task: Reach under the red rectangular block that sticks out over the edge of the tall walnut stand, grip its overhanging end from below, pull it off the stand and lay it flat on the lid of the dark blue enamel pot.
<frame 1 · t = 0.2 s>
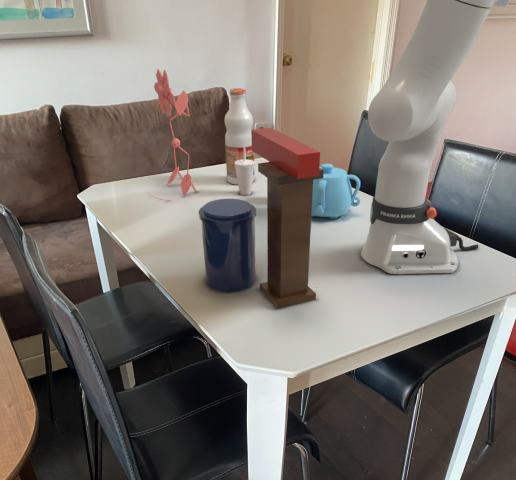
stand: (287, 294, 108), on the table
pot: (231, 279, 114), on the table
onion: (313, 188, 164), on the table
red rectangular block: (282, 162, 94), point 27 cm above the table, touching stand
decorative pot: (324, 212, 146), on the table
smoothie: (245, 193, 161), on the table
figurine: (171, 192, 163), on the table
fruit juice: (240, 181, 171), on the table
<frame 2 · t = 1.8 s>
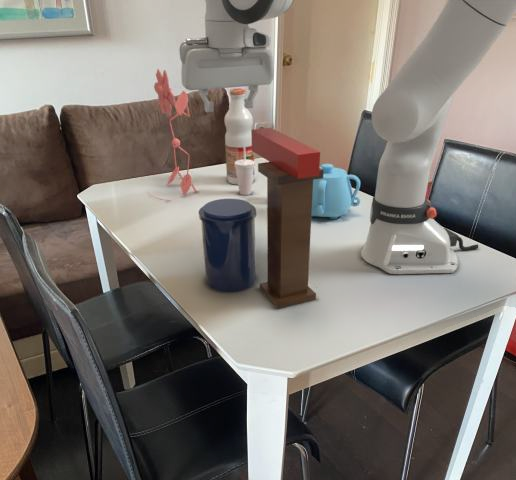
hand: (229, 109, 112), 32 cm above the table, tool pointing down, fingers open, 8 cm apart
nothing on the table moved.
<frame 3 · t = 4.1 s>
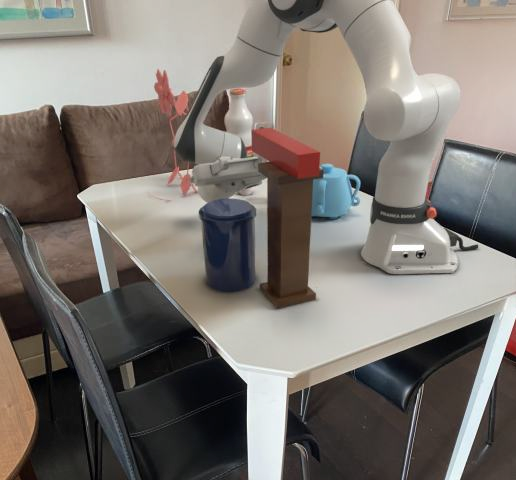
hand: (244, 160, 111), 23 cm above the table, tool pointing upward, fingers open, 8 cm apart
nothing on the table moved.
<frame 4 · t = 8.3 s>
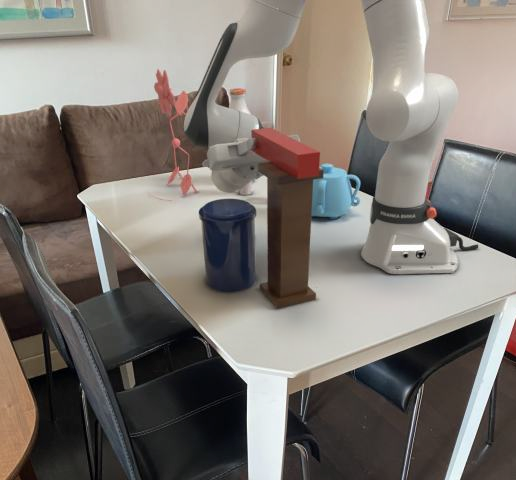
hand: (267, 140, 98), 29 cm above the table, tool pointing upward, fingers closed on red rectangular block, 4 cm apart
red rectangular block: (282, 162, 94), point 27 cm above the table, touching gripper, stand
everything else where it was.
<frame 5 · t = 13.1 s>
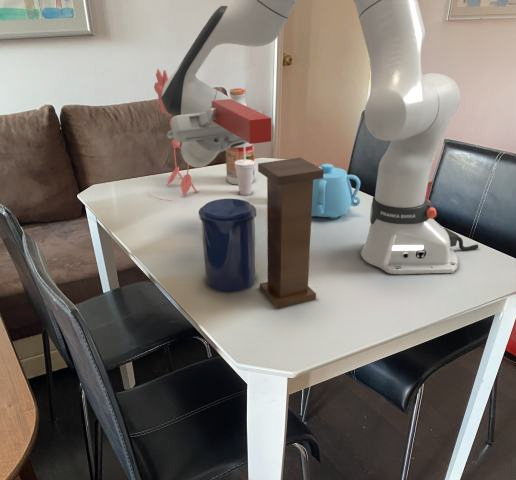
hand: (226, 110, 102), 33 cm above the table, tool pointing upward, fingers closed on red rectangular block, 4 cm apart
red rectangular block: (240, 130, 98), point 31 cm above the table, touching gripper
everything else where it was.
when the fingers open (19 cm above the table, at t = 17.9 s): red rectangular block stays where it is, resting on pot.
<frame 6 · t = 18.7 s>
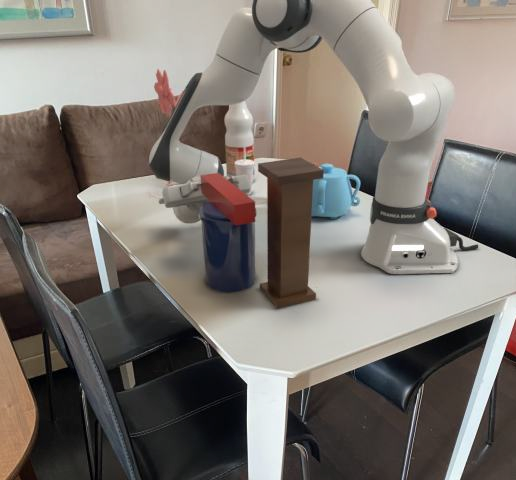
hand: (215, 182, 107), 20 cm above the table, tool pointing upward, fingers open, 8 cm apart
red rectangular block: (226, 206, 104), point 17 cm above the table, touching pot
everything else where it was.
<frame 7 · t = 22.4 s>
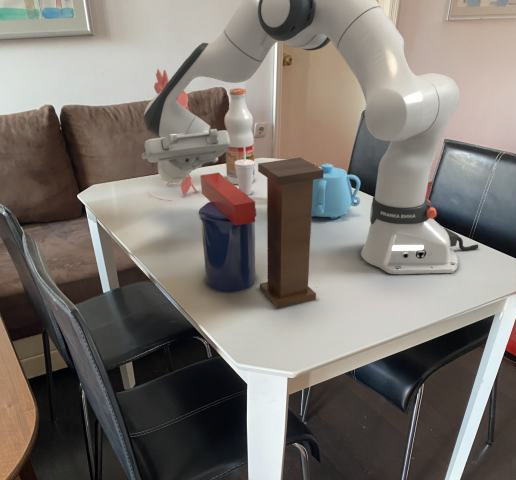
hand: (194, 134, 112), 27 cm above the table, tool pointing upward, fingers open, 8 cm apart
nothing on the table moved.
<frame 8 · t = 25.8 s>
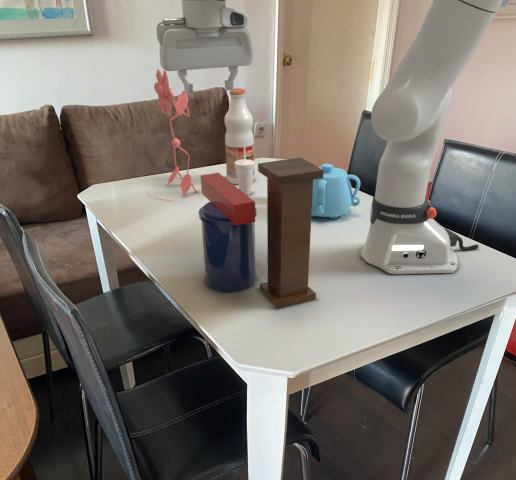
hand: (209, 91, 111), 35 cm above the table, tool pointing down, fingers open, 8 cm apart
nothing on the table moved.
at the end: red rectangular block 0.1 cm off-centre on the pot, point 17.0 cm above the pot's base; red rectangular block tilted 0°; the gripper is holding nothing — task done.
